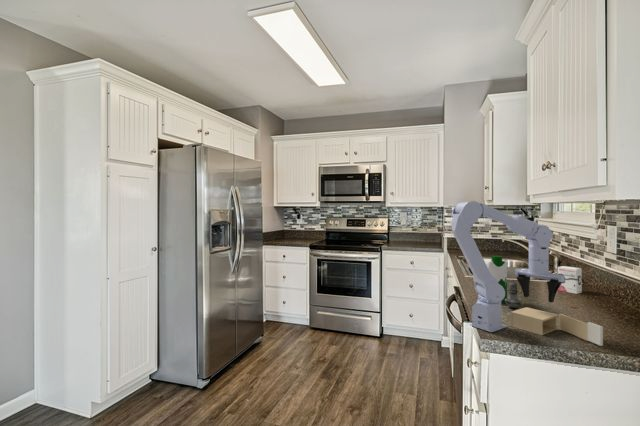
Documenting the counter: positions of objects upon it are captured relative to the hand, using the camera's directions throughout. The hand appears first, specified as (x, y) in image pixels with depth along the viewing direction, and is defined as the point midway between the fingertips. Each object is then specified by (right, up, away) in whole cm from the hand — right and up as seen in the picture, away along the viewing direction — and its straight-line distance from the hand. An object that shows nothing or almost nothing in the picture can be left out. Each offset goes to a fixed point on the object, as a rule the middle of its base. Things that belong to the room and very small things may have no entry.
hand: (538, 299), depth 112 cm
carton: (-2, -9, -1) cm, 10 cm away
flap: (+6, -9, -10) cm, 15 cm away
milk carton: (+2, -9, +32) cm, 33 cm away
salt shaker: (+3, -9, +19) cm, 22 cm away
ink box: (+47, -9, +47) cm, 67 cm away
